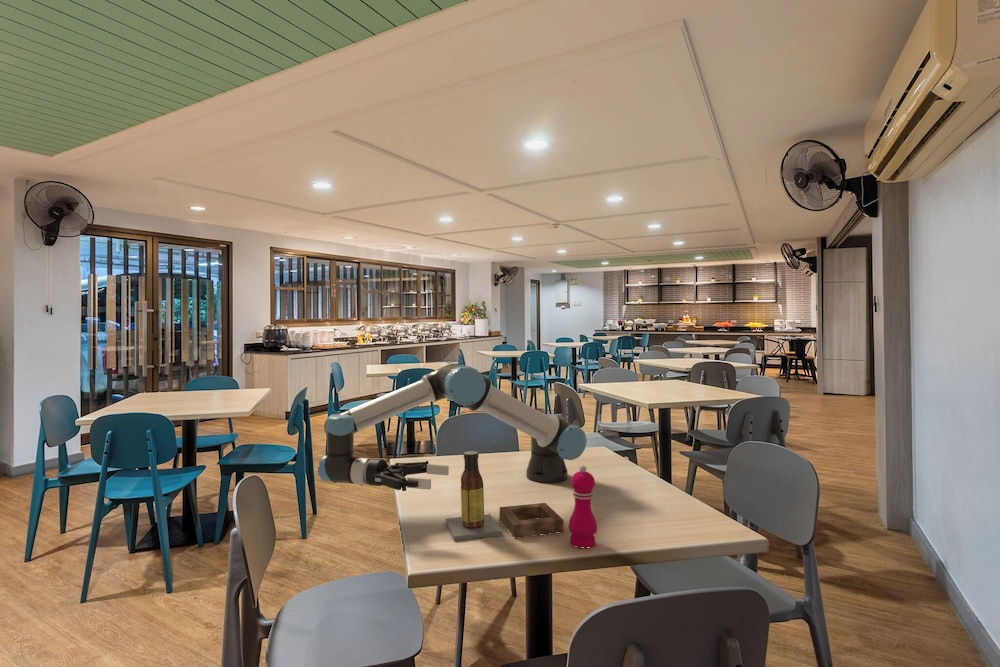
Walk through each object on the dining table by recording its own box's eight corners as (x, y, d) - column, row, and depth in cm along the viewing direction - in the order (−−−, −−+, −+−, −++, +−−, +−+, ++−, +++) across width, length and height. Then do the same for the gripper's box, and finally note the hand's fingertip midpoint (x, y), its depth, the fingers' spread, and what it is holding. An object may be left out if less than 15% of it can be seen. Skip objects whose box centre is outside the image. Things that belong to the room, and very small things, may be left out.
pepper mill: (596, 550, 130) (597, 470, 130) (567, 548, 131) (567, 468, 131) (597, 539, 137) (597, 462, 137) (569, 537, 138) (569, 461, 138)
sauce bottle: (487, 522, 146) (488, 450, 145) (479, 530, 140) (479, 456, 139) (465, 519, 148) (466, 448, 147) (456, 527, 142) (457, 454, 141)
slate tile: (489, 518, 152) (489, 514, 152) (501, 535, 139) (501, 531, 139) (445, 522, 148) (445, 518, 148) (453, 540, 136) (453, 536, 136)
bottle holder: (545, 514, 155) (545, 502, 155) (563, 532, 141) (563, 519, 141) (499, 519, 151) (499, 507, 151) (513, 538, 138) (513, 524, 138)
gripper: (390, 472, 163) (454, 477, 158) (347, 498, 139) (422, 505, 134) (390, 448, 163) (454, 453, 158) (347, 470, 139) (422, 476, 134)
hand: (439, 477), depth 146 cm, fingers open, 13 cm apart
